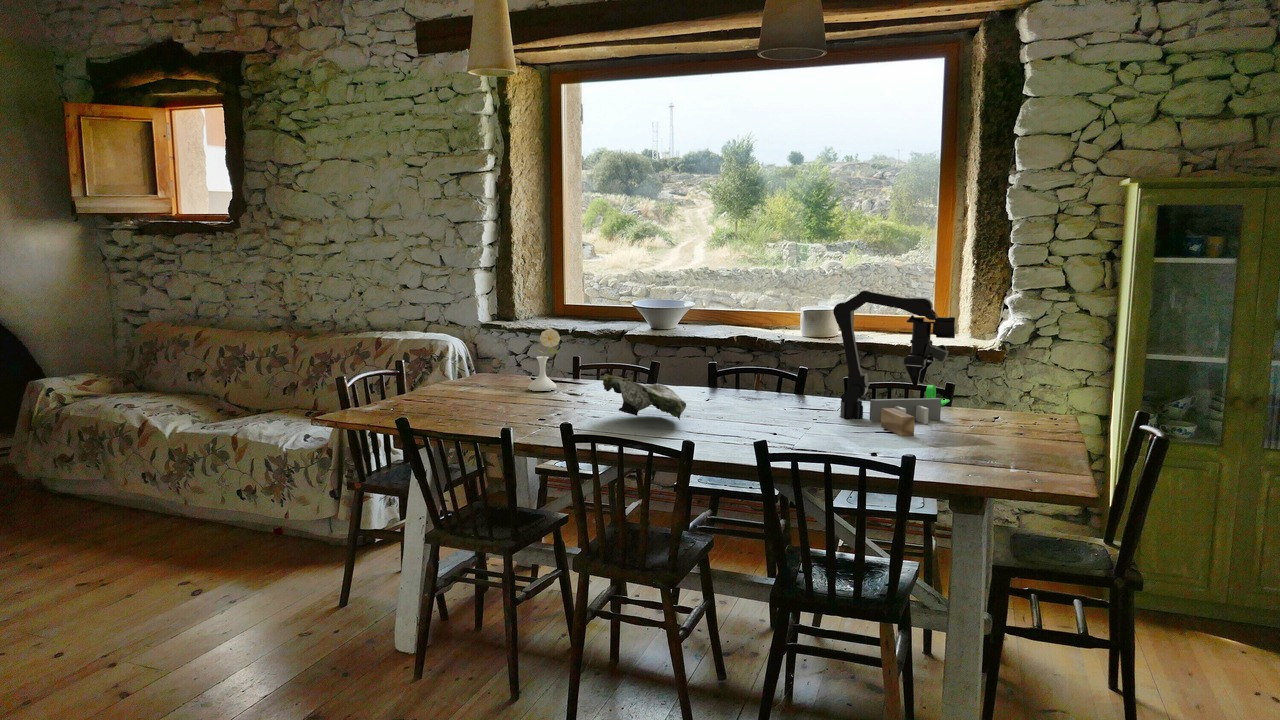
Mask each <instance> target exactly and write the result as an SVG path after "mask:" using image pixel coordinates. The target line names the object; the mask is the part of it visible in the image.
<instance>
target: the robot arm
mask: <svg viewBox="0 0 1280 720" xmlns="http://www.w3.org/2000/svg"><path fill="white" fill-rule="evenodd" d="M867 303H868V304H871V305H872V304H873V305H878V306H885V307H888V308H895V309H900V310H903V311H904V312H907V313H910V314H912V315H910V317H909V318H908V319H907V320H906V323H908V324H909V323H911V324H912V331H911V339H910V340H909V341H910V344H911V347H910V348H911V349H910V352H909V354H908V355H907V356H905V357H904V358H903V365H904V367H905V369H906V371H907V373H908V375H909V378H910V381H911V383H912V386H913V387H915V388H916V387H918V385H919V384H924V382H925V379H926V375H927V373H928V370H929V367H931V366H932V365H933V364H934V363H935V361H936V360H938V361H940V362H945V361H946V358H947V357H948V355H949V350H947V349H948V347H947V346H946V345H944V344H941V345H939V346H937V345H933V340H932V339H931V334H932V335H934V336H935V337H936V338H937V339H940V338H941V339H955V338H956V332H957V331H956V329H957V327H956V317H954V316H949V317H948V316H947V317H942V316H938V314H937V313H936V312H935V310H934V309H933V308H934V305H933V302H932V300H931V299H930V298H928V297H902V296H897V295H896V296H895V295H891V294H884V293H879V292H874V291H871V290H868V289H865V290H862V291H860V292H859V293H858V294H856V295H855V296H853V297H851V298H850V299H848V300H847V301H843V302H839V303H837V304H836V305H835V306H834V307H833V309H832V310H833V312H832V314H833V317H834V319H835V321H836V323H837V325H838V327H839V330H840V333H841V339H842V343H843V350H844V354H845V361H846V365H847V370H848V371H847V372H848V373H847V390H846V391H844V393H843V394H842V395H841V394H840V413H839V415H838V417H839V418H841V419H843V420H864V405H863V401H861V399H862V397H864V396H865V395H866V394H867V393H868V391H869V387H870V385H871V384H870V382H869V375H868V373H867V372H866V373H863V370H862V368H861V364H860V363H861V362H860V358H859V352H858V345H857V342H856V341H857V340H856V336H855V330H854V323H855V311H857V310H858V309H860V308H861V307H862V306H863V305H865V304H867ZM915 315H916V316H919V317H916V316H915ZM925 319H927V320H925ZM931 330H932V331H931Z"/></svg>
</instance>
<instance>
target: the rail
mask: <svg viewBox="0 0 1280 720" xmlns="http://www.w3.org/2000/svg"><path fill="white" fill-rule="evenodd" d="M915 422H916V420H915V417H913V416H911V415H909V414H906V413H904V412H901V411H899V410H897V409H894V408H881V421H880V427H881V428H883V429H886V430H887V431H890V433H894V434H895V435H898V436H900V437H914V436H915Z"/></svg>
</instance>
